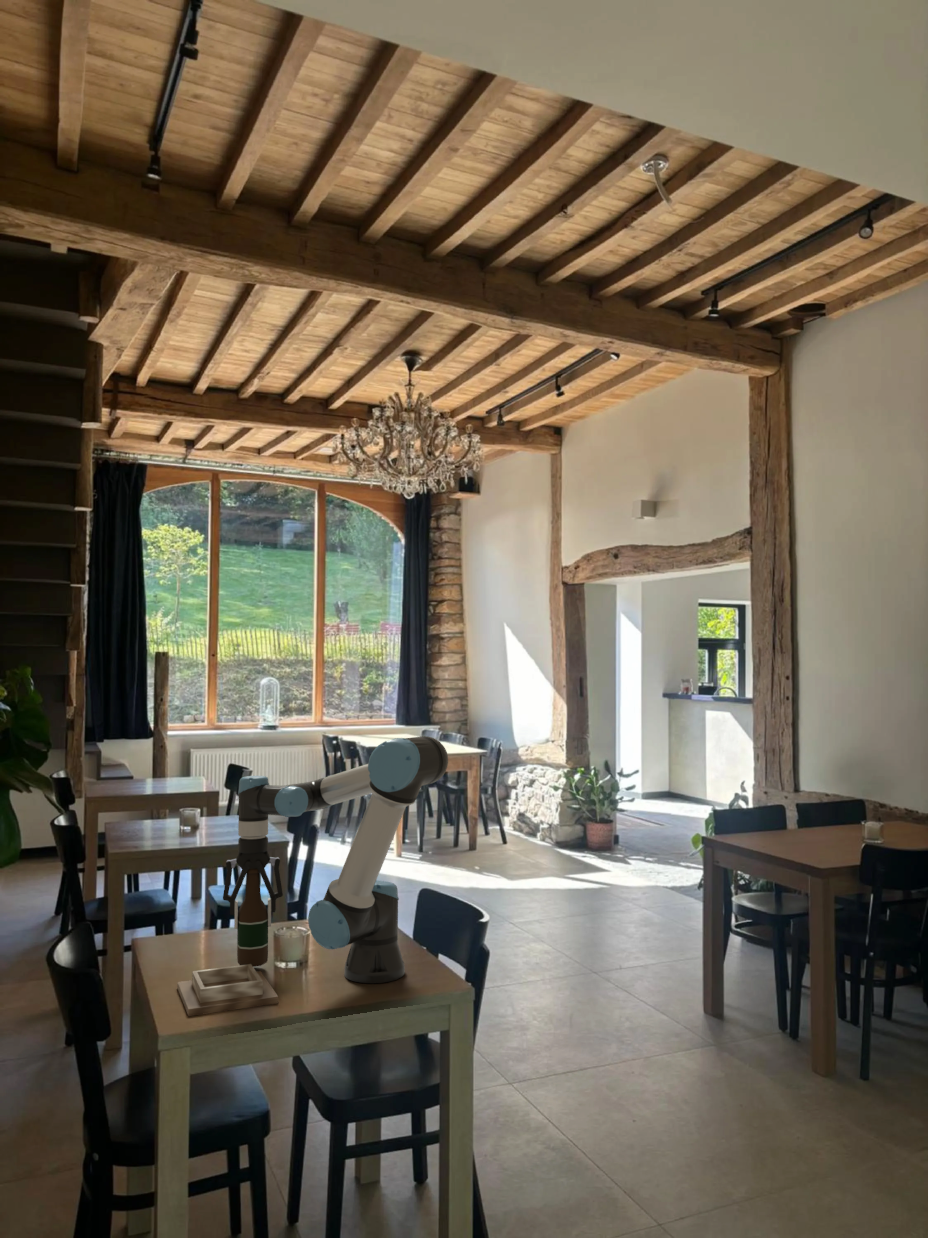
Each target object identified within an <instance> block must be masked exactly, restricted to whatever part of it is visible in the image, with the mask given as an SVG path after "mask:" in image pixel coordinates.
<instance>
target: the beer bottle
mask: <svg viewBox="0 0 928 1238" xmlns="http://www.w3.org/2000/svg"><path fill="white" fill-rule="evenodd" d="M260 877H261V876H260V873H259V872H258V869H249V870H248V872H247V873H246V879H245V880H246V883H245V895H244V900H243V901H242V903H241V904H240V906H239V908H238V928H237V929H236V930H237V934H236V935H237V937H236V939H237V943H236V944H237V946H236V951H237V953H236V957H237V959H236V960H237V963H238V966H239V965H247V964H251V965H252V966H253V968H255V967H261V966H263V965H265V964H267V963H268V958H269V927H268V907H267V906H266V904H265V902H264V901H263V900H262V894H261V880H260V879H261V878H260Z"/></svg>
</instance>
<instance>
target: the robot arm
mask: <svg viewBox="0 0 928 1238" xmlns="http://www.w3.org/2000/svg"><path fill="white" fill-rule="evenodd" d="M370 754H371V755H370V756H369V760H368V763H366V764H363V765H360V766H357V767H354V768H351V769H347V770H344V771H341V772H338V773H335V774H331V775H329V776H325V777H321V778H319V779H316V780H312V781H306V782H298V783H292V784H286V785H277V784H276V785H275V784H274V785H271V784H270V783H269V778H268V777H267V775H248V776H243V777H241V778H240V779H239V783H238V793H237V795H238V824H237V825H238V828H237V829H238V830H237V831H238V836H239V838H238V845H237V846H238V847H237V848H238V849H237V850H238V851H237V852H238V853H237V854H238V855H237V856H236V858H233V859H226V861H225V865H226V877H225V881H224V889H223V895H222V900H223V901H227V902H229V915H230V916H234V925H233V926H234V928H233V929H234V930H237V928H238V911H239V906H238V905H239V900H237V896H238V894H239V891H240V890H241V887H242V884H243V882H244V880H245V877H246V876H247V872H248V870H249V869H258V872H259V875H260V877H261V878H262V881H263V883H264V885H265V888H266V890H267V892H268V893H267V894H268V895H269V897H270V898H269V897H268V898H267V911H268V928H269V927H272V913H276V907H277V906H276V905H277V904H276V902H277V899H278V898H282V897H283V896H284V894H283V893H284V892H283V888H282V887H283V886H282V879H281V874H280V863H281V859H280V857H279V856H276V857H272V856H270V854H269V837H268V834H269V815H270V816H280V817H285V818H290V817H296V818H297V817H300V816H302V814H303V813H306V812H311V811H315V810H323V809H327V808H329V807H330V808H331V807H332V806H333V805H337V804H340V803H344V802H347V801H350V800H354V799H357V798H361V797H364V796H367V795H370V798H369V800H368V803H367V806H366V809H365V810H364V813H363V816H362V819H361V821H360V823H359V826H358V829H357V831H356V832H355V836H354V839H353V841H352V844H351V847H350V849H349V851H348V854H347V856H346V859H345V861H344V864H343V866H342V869H341V872H340V874H339V875H338V878H337V879H336V878H335V880H332V881H331V882H330V883H329V885H328V888H327V889H326V892H325V894H324V897H323V899H321V900H318V901H316V902H315V903H314V904H313V905H312V906H311V907H310V909H309V912H308V919H307V922H308V923H307V924H308V928H309V930H310V934H311V936H312V938H313V939H314V941H315V942H316V943H317V944H318V945H320V946H321V947H323V948H324V949H327V950H337V949H342V948H345V947H347V946H349V945H350V949H349V952H348V954H347V957H346V959H345V960H346V961H345V964H344V977H345V978H346V979H347V980H349V981H352V982H356V983H362V984H382V983H383V984H384V983H389V982H393V981H396V980H398V979H401V978H402V977H404V975H405V971H406V970H405V969H406V968H405V965H406V964H405V962H404V960H403V957H402V952H401V949H400V946H399V941H398V939H399V938H398V935H399V934H398V933H399V931H398V930H399V900H400V898H399V894H398V893H399V892H398V891H399V890H398V886H397V885H396V884H395V883H393V882H391V881H385V880H378V877H379V875H380V872H381V870H382V867H383V865H384V862H385V859H386V857H387V855H388V852H389V851H390V847H391V846H392V842H393V840H394V837H395V834H396V833H397V830H398V827H399V825H400V823H401V820H402V817H403V815H404V813H405V810H406V807H408V806H411V805H413V804H414V803H415V802H416V800H417V797H418V795H419V793H420V790H421V788H422V786H427V785H431V784H433V783H435V782H437V781H439V780H441V779H442V777H443V776H444V774H446V771H447V769H448V765H449V757H448V756H449V755H448V752H447V749H446V748H445V746H444V745H443V744H442V743H441V741H439V740H438V739H437V738H434V737H430V736H423V735H422V736H417V737H416V736H415V737H406V738H405V737H395V738H392V739H390V740H389V739H388V740H385V741H383V742H381V743H380V744H378V745H377V746H376V747H375V748H374V750H373V751H372V752H371V753H370ZM268 863H270V864H271V866H272V867H273V872H274V877H275V883H276V892H275V891H274V888H273V886H272V884H271V881H270V879H269V877H268V875H267V871H266V869H265V868H266V867H267V865H268ZM236 865H238V866H239V868H240V869H241V871H240V874H239V876H238V878H237V881H236V883H235V886H234V888H233V890H232V892H231V895H230V894H229V892H230V886H231V880H232V874H233V869H235V867H236Z"/></svg>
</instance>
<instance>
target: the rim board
mask: <svg viewBox="0 0 928 1238" xmlns="http://www.w3.org/2000/svg"><path fill="white" fill-rule="evenodd" d="M191 972H192V973H191V979H190V980H182V981H177V991H178V993H179V996H180V999H181V1001H182V1004H183V1006H184V1008H185V1011H186V1014H187V1016H188V1017H192V1016H193V1017H194V1016H198V1015H206V1014H212V1013H218V1012H219V1013H220V1012H228V1011H233V1010H240V1009H247V1008H255V1007H262V1006H268V1005H269V1006H270V1005H275V1004H279V995H278V993H276V991H275V990H274V989H273V986H271V984H270V982H269V981H268V980H267V978H266V977H265V975H264V974H263V972H262V971H261V970H260V971H259V970H258V971H256V969H255V967H253V966H252V965H251V964H247V965H239V964H238V965H231V966H225V967H215V968H209V969H200V970H193V971H191Z"/></svg>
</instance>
